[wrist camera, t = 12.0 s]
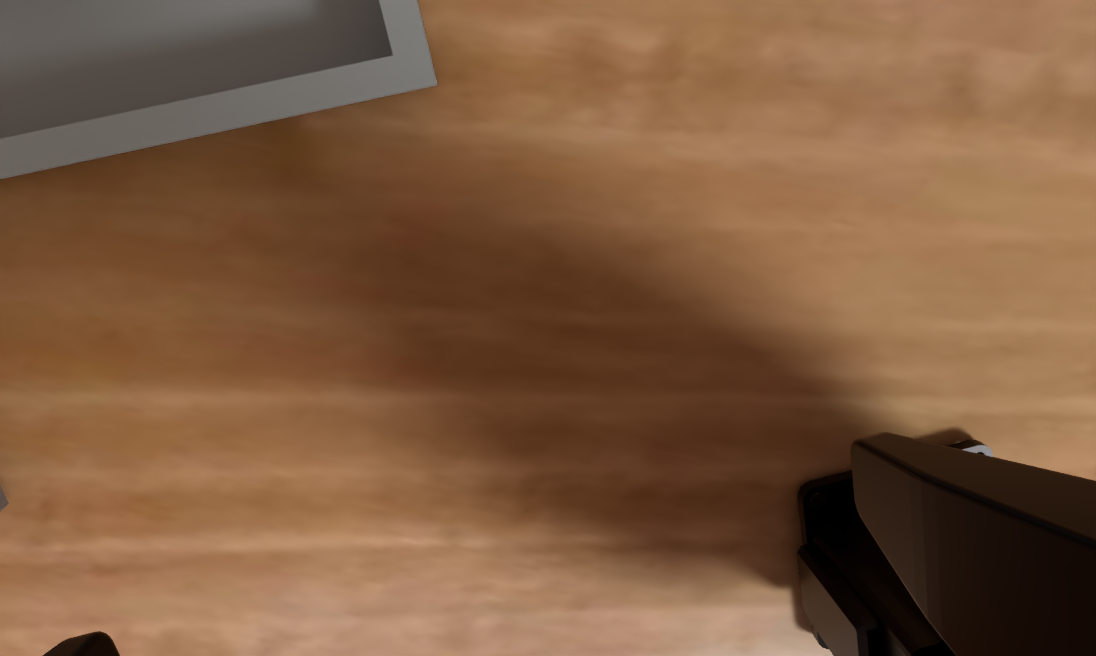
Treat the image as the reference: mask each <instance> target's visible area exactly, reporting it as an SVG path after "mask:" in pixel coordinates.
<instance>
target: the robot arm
mask: <svg viewBox="0 0 1096 656" xmlns="http://www.w3.org/2000/svg"><path fill="white" fill-rule="evenodd" d="M851 464H852V470H850V471H846V472H843V473H839V474H835V475H831V476H827V477H823V478H819V479H815V480H811V481H809V482H806V483H805V484H804V485H802V486H801V487H800V489H799V491H798V497H797V498H798V507H799V516H800V525H801V534H802V542H803V544H802V545H800V547H799V549H798V551H797V562H798V570H799V579H800V587H801V596H802V605H803V611H804V613H805V615H806V616H807V617H808V619H809V620H810V622H811V623H812V631H813V635H814V637H815V639H816V640H817V642H818V643H819V645H820V646H822V647H823V648H826V649H830V651H831V652H832V654H833V655H834V656H1096V481H1094V480H1090V479H1085V478H1081V477H1077V476H1073V475H1068V474H1064V473H1060V472H1055V471H1051V470H1047V469H1042V468H1038V467H1034V466H1029V465H1025V464H1021V463H1017V462H1012V461H1008V460H1004V459H999V458H995V457H993V454H992V450H991V449H990V448H989V447H988V446H986V445H985V444H983V443H982V442H980V441H977V440H969V441H965V442H961V443H957V444H953V445H949V446H943V445H939V444H935V443H930V442H926V441H922V440H918V439H913V438H909V437H905V436H900V435H896V434H892V433H886V432H885V433H878V434H874V435H870V436H867V437H863V438H859V439H857V440H855V441H854V442H853V444H852V446H851ZM816 493H819V496H818V497H817V499H815V500H813V501H810V499H811V497H812V496H813V495H814V494H816ZM43 656H120V655H119V652H118V650H117V648H116V646H115V644H114V642H113V640H112V639H111V637H110V636H109V635H107V634H106V633H103V632H100V631H99V632H93V633H89V634H85V635H81V636H77V637H73V638H69V639H67V640H64V641H63V642H61V643H59V644H58V645H57V646H55V647H54V648H52V649H51V650H50V651H48V652H47V653H46V654H44V655H43Z"/></svg>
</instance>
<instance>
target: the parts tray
mask: <svg viewBox="0 0 1096 656" xmlns="http://www.w3.org/2000/svg"><path fill="white" fill-rule="evenodd" d="M434 86H438V83H437V79H436V75H435V71H434V66H433V62H432V58H431V54H430V50H429V45H428V41H427V37H426V33H425V29H424V25H423V20H422V16H421V12H420V8H419V4H418V0H0V180H2V179H6V178H11V177H16V176H20V175H25V174H29V173H34V172H39V171H43V170H48V169H53V168H57V167H62V166H67V165H71V164H76V163H81V162H85V161H90V160H95V159H99V158H104V157H108V156H113V155H118V154H122V153H127V152H132V151H136V150H141V149H146V148H150V147H155V146H160V145H164V144H169V143H174V142H178V141H183V140H187V139H192V138H197V137H201V136H206V135H211V134H215V133H220V132H225V131H229V130H234V129H239V128H243V127H248V126H253V125H257V124H262V123H266V122H271V121H276V120H280V119H285V118H290V117H294V116H299V115H304V114H308V113H313V112H318V111H322V110H327V109H331V108H336V107H341V106H345V105H350V104H355V103H359V102H364V101H369V100H373V99H378V98H383V97H387V96H392V95H397V94H401V93H406V92H410V91H415V90H420V89H424V88H429V87H434Z"/></svg>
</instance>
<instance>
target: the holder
mask: <svg viewBox="0 0 1096 656" xmlns="http://www.w3.org/2000/svg"><path fill="white" fill-rule="evenodd" d="M8 504H9V503H8V501H7V499H6V497H5V495H4V493H3V491H2V489H1V487H0V511H1V510H2V509H3V508H5V507H6V506H7V505H8Z"/></svg>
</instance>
